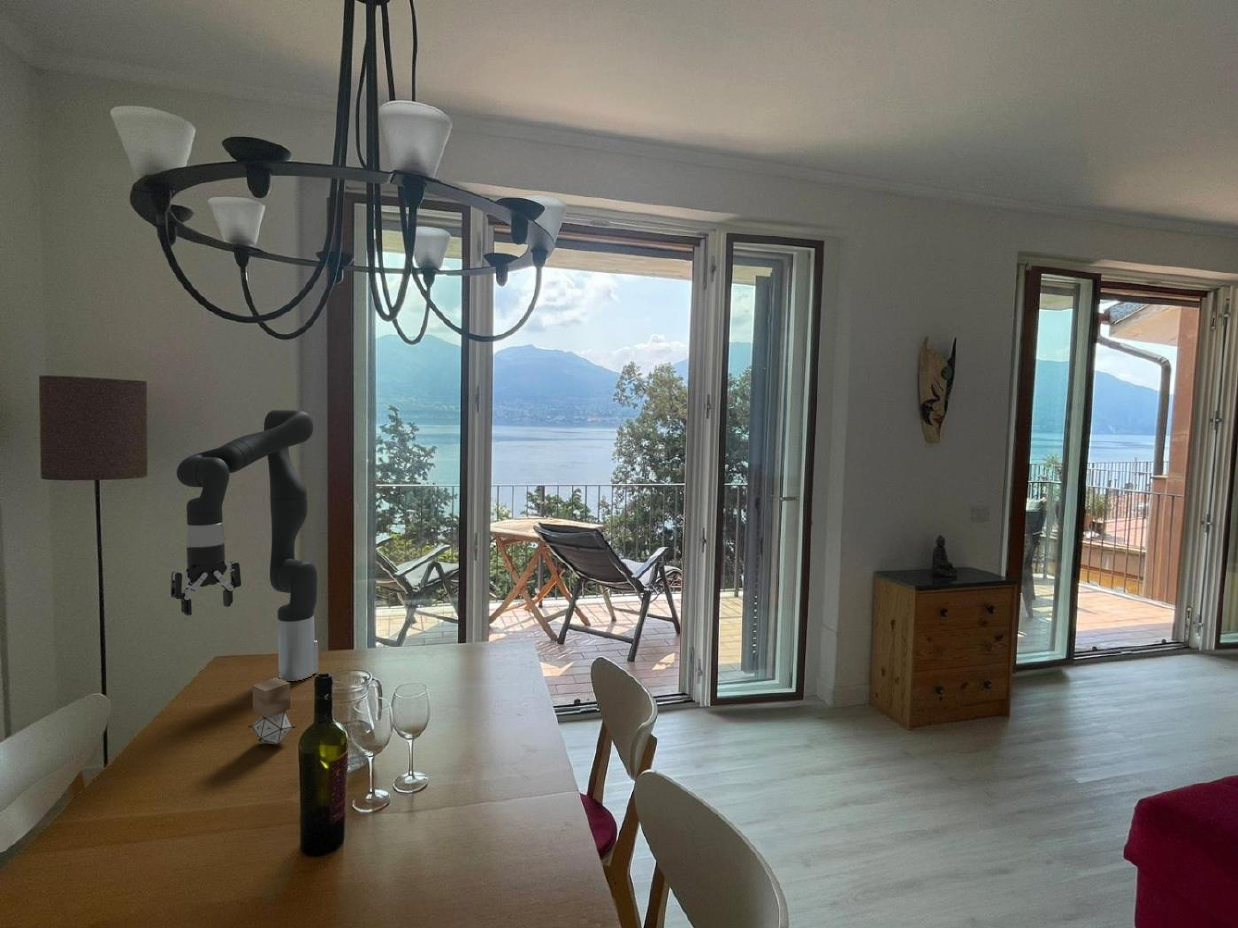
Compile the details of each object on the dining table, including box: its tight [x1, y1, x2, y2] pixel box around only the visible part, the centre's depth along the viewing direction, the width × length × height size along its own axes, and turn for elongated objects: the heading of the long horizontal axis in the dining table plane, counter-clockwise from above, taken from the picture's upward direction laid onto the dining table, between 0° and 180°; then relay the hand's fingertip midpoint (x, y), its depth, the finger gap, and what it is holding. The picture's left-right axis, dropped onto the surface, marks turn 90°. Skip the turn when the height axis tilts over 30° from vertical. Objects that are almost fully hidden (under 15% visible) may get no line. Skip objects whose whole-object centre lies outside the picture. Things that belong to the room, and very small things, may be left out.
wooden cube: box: [251, 676, 291, 718], centre depth 148 cm, size 6×6×6 cm
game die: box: [247, 711, 297, 745], centre depth 148 cm, size 9×8×10 cm
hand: (207, 610), depth 154 cm, fingers open, 8 cm apart
